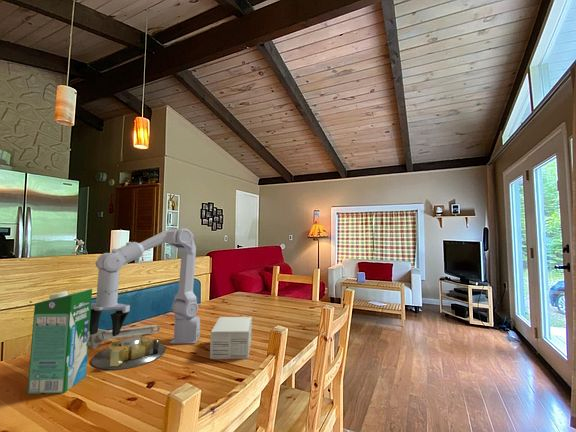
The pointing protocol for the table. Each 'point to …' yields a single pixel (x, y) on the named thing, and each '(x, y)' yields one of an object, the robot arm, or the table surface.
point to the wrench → (106, 335)
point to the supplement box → (231, 338)
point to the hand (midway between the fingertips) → (104, 334)
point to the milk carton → (59, 342)
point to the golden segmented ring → (128, 350)
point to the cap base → (104, 361)
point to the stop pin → (155, 346)
